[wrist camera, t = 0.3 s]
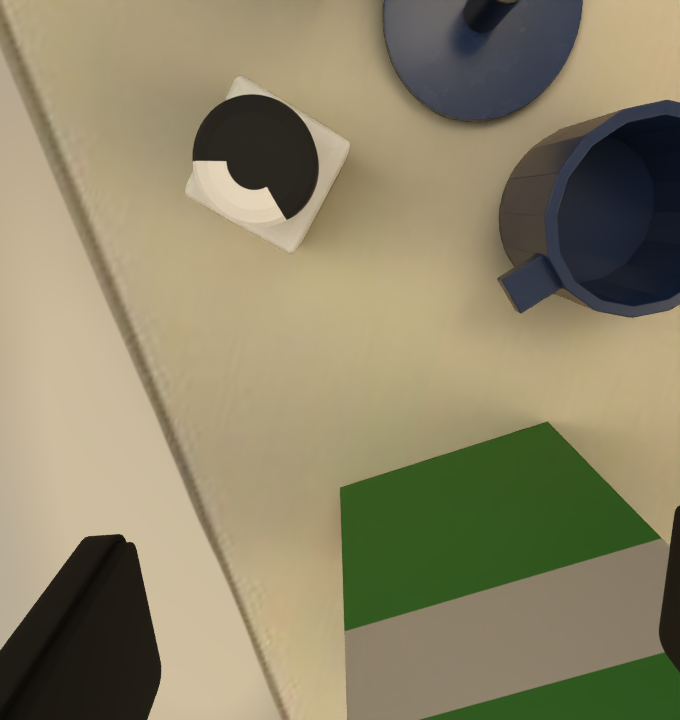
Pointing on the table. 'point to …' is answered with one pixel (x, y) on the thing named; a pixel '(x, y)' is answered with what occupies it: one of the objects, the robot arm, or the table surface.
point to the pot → (598, 215)
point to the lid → (479, 51)
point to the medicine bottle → (264, 164)
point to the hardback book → (502, 591)
